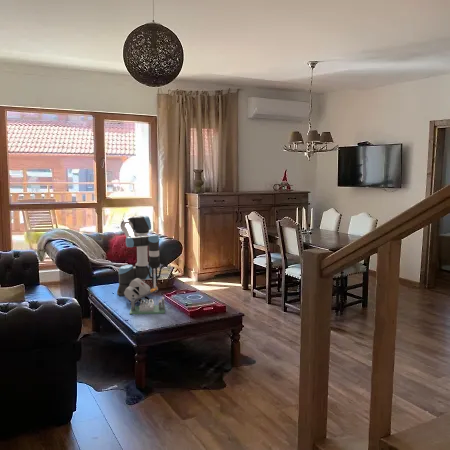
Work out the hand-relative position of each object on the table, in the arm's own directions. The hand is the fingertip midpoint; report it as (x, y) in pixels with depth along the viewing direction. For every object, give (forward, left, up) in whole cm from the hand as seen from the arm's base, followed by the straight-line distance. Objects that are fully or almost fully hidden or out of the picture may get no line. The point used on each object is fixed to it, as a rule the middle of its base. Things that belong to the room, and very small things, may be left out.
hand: (154, 287), depth 340 cm
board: (0, -6, -17) cm, 18 cm away
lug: (0, +5, -16) cm, 17 cm away
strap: (0, -7, -6) cm, 10 cm away
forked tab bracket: (0, -16, -16) cm, 23 cm away
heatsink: (0, -6, -16) cm, 17 cm away
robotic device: (-19, -14, -18) cm, 29 cm away
